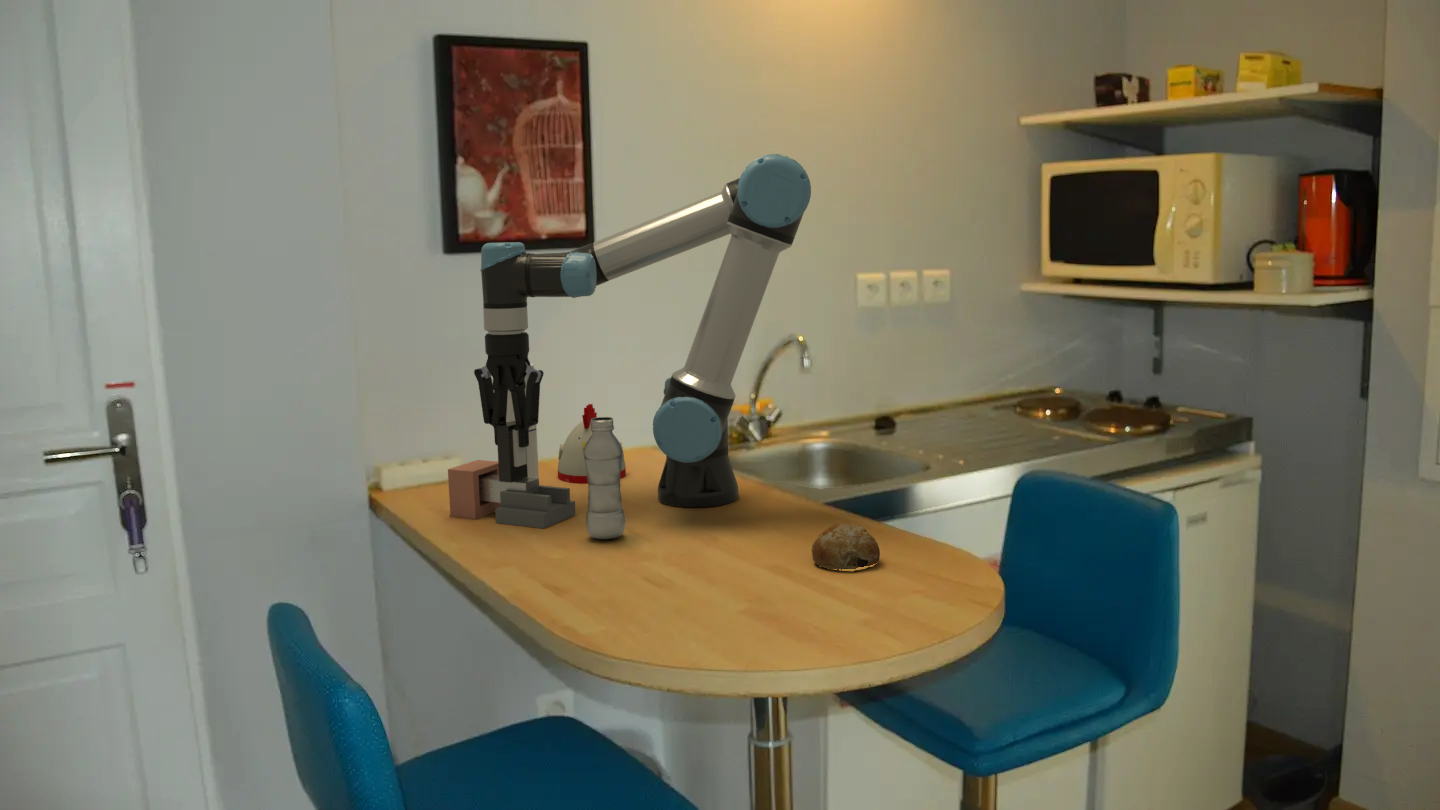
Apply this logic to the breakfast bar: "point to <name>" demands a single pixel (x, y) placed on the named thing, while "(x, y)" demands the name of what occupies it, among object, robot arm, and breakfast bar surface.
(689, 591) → the breakfast bar surface
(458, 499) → the socket block
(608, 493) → the plastic bottle
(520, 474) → the black and grey block
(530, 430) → the cylindrical container
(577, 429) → the kitchen timer
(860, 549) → the bread roll
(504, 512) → the grey stepped base
